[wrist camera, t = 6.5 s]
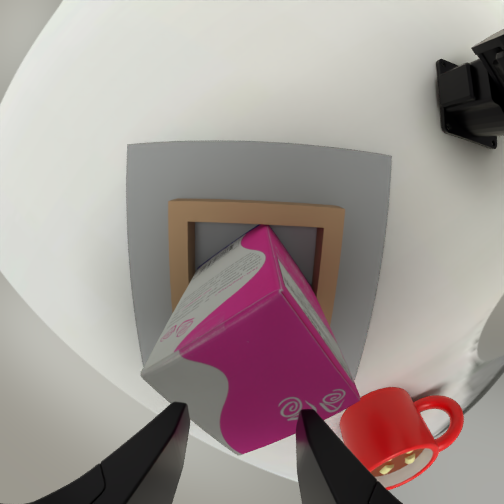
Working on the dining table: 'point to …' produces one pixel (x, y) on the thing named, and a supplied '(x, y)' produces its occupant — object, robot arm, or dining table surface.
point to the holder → (250, 215)
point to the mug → (397, 433)
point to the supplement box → (250, 347)
